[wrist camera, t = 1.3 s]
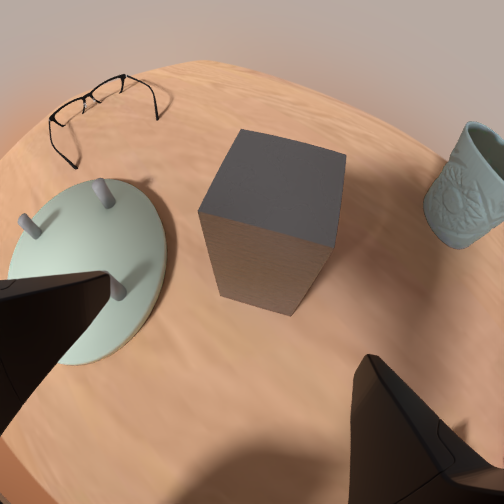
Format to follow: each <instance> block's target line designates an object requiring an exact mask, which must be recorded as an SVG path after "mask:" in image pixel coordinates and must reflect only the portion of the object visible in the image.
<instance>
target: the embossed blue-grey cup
mask: <svg viewBox="0 0 504 504" xmlns="http://www.w3.org/2000/svg"><path fill="white" fill-rule="evenodd" d="M423 208H424V213H425V217H426V219H427V222H428V224H429V226H430V227H431V229H432V230H433V232H434V233H435V234H436V235H437V237H438V238H439V239H440V240H441V241H443V242H444V243H445V244H447V245H448V246H450V247H452V248H455V249H464V248H466V247H468V246H470V245H471V244H472V243H474V242H475V241H477V240H478V239H480V238H481V237H483V236H484V235H485V234H487V233H488V232H489V231H490V230H491V229H492V228H495V227H496V226H498V225H499V224H501V223H502V222H503V221H504V140H503V139H502V138H501V137H500V136H499V135H498V134H497V133H495V132H494V131H493V130H491V129H490V128H488V127H487V126H485V125H483V124H481V123H478V122H472V121H470V122H467V124H466V126H465V127H464V129H463V131H462V133H461V136H460V138H459V140H458V142H457V144H456V146H455V148H454V149H453V151H452V153H451V155H450V159H449V162H447V164H446V165H445V166H444V167H443V170H442V172H441V173H440V176H439V177H438V178H437V179H436V180H435V181H434V183H433V184H432V186H431V187H430V189H429V191H428V192H427V194H426V196H425V198H424V202H423Z"/></svg>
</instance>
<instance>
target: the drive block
mask: <svg viewBox="0 0 504 504" xmlns="http://www.w3.org/2000/svg"><path fill="white" fill-rule="evenodd" d="M345 165H346V155H345V154H342V153H339V152H335V151H332V150H329V149H325V148H321V147H318V146H314V145H310V144H307V143H303V142H299V141H295V140H291V139H287V138H282V137H278V136H273V135H269V134H264V133H259V132H254V131H249V130H244V129H241V130H240V132H239V134H238V135H237V137H236V139H235V141H234V143H233V144H232V146H231V148H230V150H229V152H228V153H227V155H226V157H225V159H224V161H223V163H222V165H221V166H220V168H219V170H218V172H217V174H216V176H215V178H214V180H213V182H212V184H211V186H210V188H209V190H208V192H207V194H206V195H205V197H204V199H203V201H202V203H201V206H200V208H199V210H198V214H199V218H200V222H201V226H202V230H203V234H204V238H205V242H206V246H207V249H208V253H209V257H210V261H211V264H212V268H213V272H214V275H215V279H216V282H217V286H218V289H219V293H220V296H223V297H226V298H229V299H232V300H236V301H239V302H242V303H246V304H249V305H252V306H256V307H259V308H263V309H266V310H270V311H273V312H277V313H280V314H284V315H287V316H291V315H292V314H293V312H294V311H295V309H296V308H297V306H298V305H299V303H300V302H301V300H302V299H303V297H304V296H305V294H306V293H307V291H308V290H309V288H310V286H311V285H312V283H313V282H314V280H315V279H316V277H317V275H318V274H319V272H320V271H321V269H322V267H323V266H324V264H325V263H326V261H327V259H328V258H329V256H330V254H331V253H332V251H333V249H334V246H335V240H336V234H337V228H338V221H339V214H340V207H341V199H342V192H343V183H344V174H345Z"/></svg>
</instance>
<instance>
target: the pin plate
mask: <svg viewBox="0 0 504 504" xmlns="http://www.w3.org/2000/svg"><path fill="white" fill-rule="evenodd" d="M18 224H19V225H20V226H21V227H22V228H23V229H24V231H23V233H22V235H21V237H20V239H19V241H18V243H17V245H16V248H15V250H14V253H13V256H12V259H11V263H10V267H9V273H8V280H9V279H19V278H29V277H39V276H49V275H59V274H69V273H79V272H89V271H99V270H100V271H103V272H105V273H108V274H109V275H110V281H111V295H110V299H109V301H108V302H107V304H106V305H105V306H104V307H103V309H102V310H101V311H100V313H99V314H98V315H97V317H96V318H95V319H94V321H93V322H92V323H91V325H90V326H89V327H88V329H87V330H86V331H85V332H84V333H83V334H82V335H81V337H80V338H79V339H78V340H77V341H76V342H75V343H74V344H73V345H72V347H71V348H70V349H69V350H68V351H67V352H66V353H65V355H64V356H63V357H62V358H61V359H60V360H59V361H58V363H60V364H64V365H76V366H78V365H86V364H91V363H94V362H97V361H100V360H102V359H104V358H106V357H108V356H110V355H112V354H113V353H115V352H116V351H118V350H119V349H120V348H122V347H123V346H124V345H125V344H126V343H127V342H128V341H130V340H131V339H132V338H133V337H134V335H135V334H136V333H137V332H138V331H139V329H140V328H141V327H142V326H143V324H144V323H145V321H146V320H147V318H148V316H149V315H150V313H151V311H152V309H153V307H154V305H155V303H156V301H157V299H158V296H159V293H160V291H161V288H162V285H163V280H164V276H165V272H166V263H167V243H166V237H165V232H164V229H163V225H162V222H161V220H160V218H159V216H158V214H157V211H156V209H155V207H154V206H153V204H152V203H151V201H150V200H149V198H148V197H147V196H146V195H145V194H144V193H143V192H142V191H140V190H139V189H137V188H136V187H134V186H132V185H130V184H128V183H126V182H122V181H119V180H113V179H103V178H98V179H96V180H90V181H86V182H82V183H80V184H77V185H74V186H72V187H70V188H68V189H66V190H64V191H63V192H61V193H59V194H58V195H56V196H55V197H54V198H52V199H51V200H50V201H49V202H47V203H46V204H45V205H44V206H43V207H42V208H41V209H40V210H39V211H38V212H37V213H36V215H35V216H34V217H33V218H32V220H31V219H30V218H29V217H28V216H27V214H25V213H24V214H22V215H21V216H20V217H19V219H18Z"/></svg>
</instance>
